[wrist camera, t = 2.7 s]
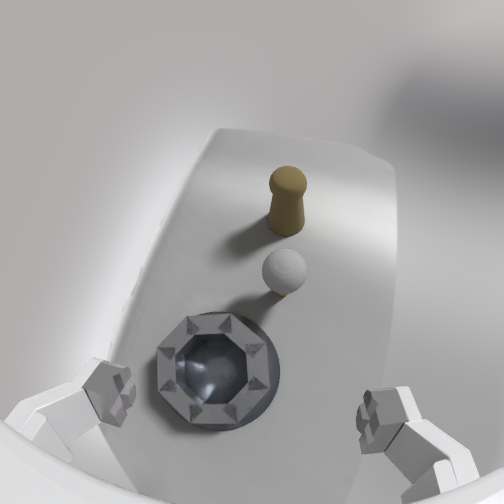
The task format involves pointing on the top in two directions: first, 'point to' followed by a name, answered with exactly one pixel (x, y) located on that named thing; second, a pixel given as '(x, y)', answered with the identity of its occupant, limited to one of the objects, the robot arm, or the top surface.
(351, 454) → the top surface
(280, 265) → the light bulb
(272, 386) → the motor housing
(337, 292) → the top surface
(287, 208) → the cork
